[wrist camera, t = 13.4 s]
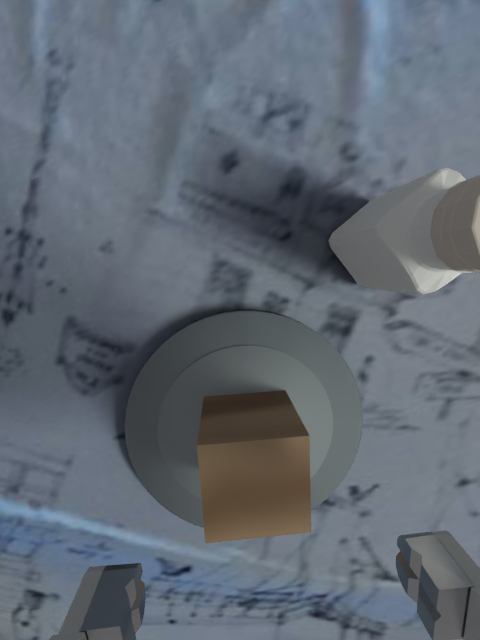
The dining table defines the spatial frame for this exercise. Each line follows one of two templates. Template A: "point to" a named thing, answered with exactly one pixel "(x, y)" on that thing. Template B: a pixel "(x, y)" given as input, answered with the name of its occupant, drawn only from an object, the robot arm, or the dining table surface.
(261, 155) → the dining table surface
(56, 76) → the dining table surface
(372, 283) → the pepper shaker
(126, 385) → the dining table surface
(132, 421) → the slate dish
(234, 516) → the walnut block
